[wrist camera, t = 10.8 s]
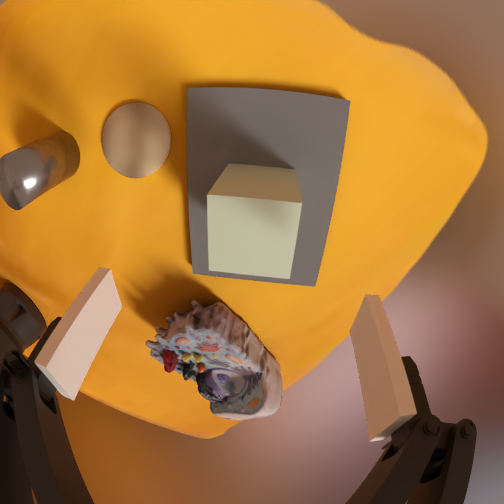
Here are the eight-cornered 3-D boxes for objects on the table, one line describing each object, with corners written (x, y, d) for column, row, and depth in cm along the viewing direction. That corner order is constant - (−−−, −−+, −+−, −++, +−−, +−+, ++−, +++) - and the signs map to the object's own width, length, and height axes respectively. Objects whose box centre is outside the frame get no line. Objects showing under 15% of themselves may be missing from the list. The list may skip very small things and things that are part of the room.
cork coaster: (111, 176, 27) (106, 179, 26) (104, 107, 22) (98, 109, 22) (174, 174, 26) (171, 177, 25) (171, 97, 22) (167, 98, 21)
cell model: (233, 433, 36) (124, 372, 30) (242, 380, 45) (152, 316, 39) (301, 418, 30) (178, 343, 24) (302, 356, 39) (205, 275, 33)
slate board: (195, 267, 32) (192, 273, 31) (191, 88, 21) (187, 87, 20) (314, 279, 31) (314, 286, 30) (346, 100, 20) (350, 100, 19)
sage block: (227, 222, 27) (208, 270, 20) (228, 163, 24) (207, 194, 17) (287, 228, 27) (289, 279, 20) (295, 169, 23) (302, 203, 17)
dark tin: (51, 179, 27) (4, 209, 19) (45, 135, 24) (-7, 157, 16) (83, 177, 27) (32, 210, 19) (77, 128, 23) (20, 150, 16)
